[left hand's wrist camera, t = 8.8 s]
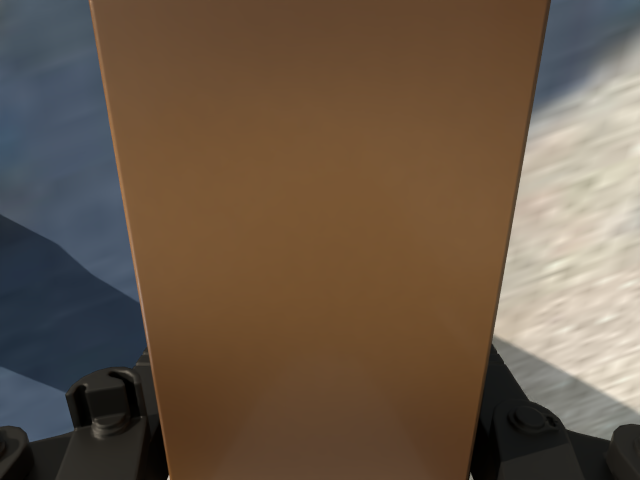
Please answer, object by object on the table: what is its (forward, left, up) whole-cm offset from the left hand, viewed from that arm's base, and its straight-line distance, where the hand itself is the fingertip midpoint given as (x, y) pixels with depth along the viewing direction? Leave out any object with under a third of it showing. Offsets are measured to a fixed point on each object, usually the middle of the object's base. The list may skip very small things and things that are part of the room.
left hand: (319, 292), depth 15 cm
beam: (+10, +32, 0) cm, 34 cm away
